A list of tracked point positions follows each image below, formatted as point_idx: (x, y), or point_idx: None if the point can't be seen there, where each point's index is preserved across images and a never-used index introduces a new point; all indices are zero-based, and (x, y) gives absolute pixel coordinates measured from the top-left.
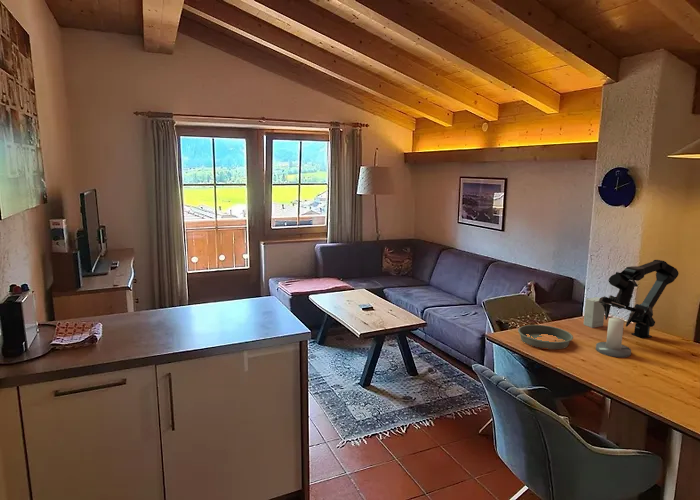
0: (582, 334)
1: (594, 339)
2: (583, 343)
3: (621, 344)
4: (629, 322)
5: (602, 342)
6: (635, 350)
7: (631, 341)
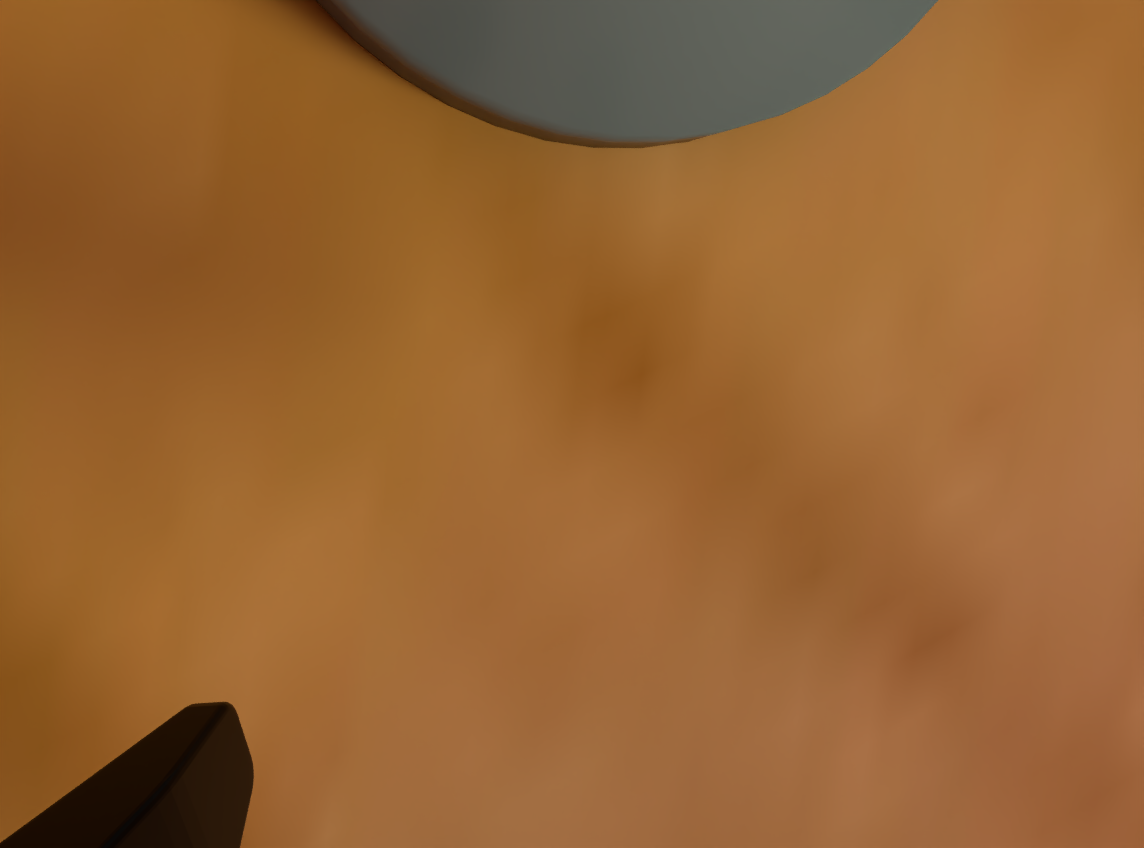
0: (1065, 744)
1: (889, 519)
2: (1137, 122)
3: (399, 35)
4: (67, 833)
5: (863, 22)
6: (10, 52)
7: None
